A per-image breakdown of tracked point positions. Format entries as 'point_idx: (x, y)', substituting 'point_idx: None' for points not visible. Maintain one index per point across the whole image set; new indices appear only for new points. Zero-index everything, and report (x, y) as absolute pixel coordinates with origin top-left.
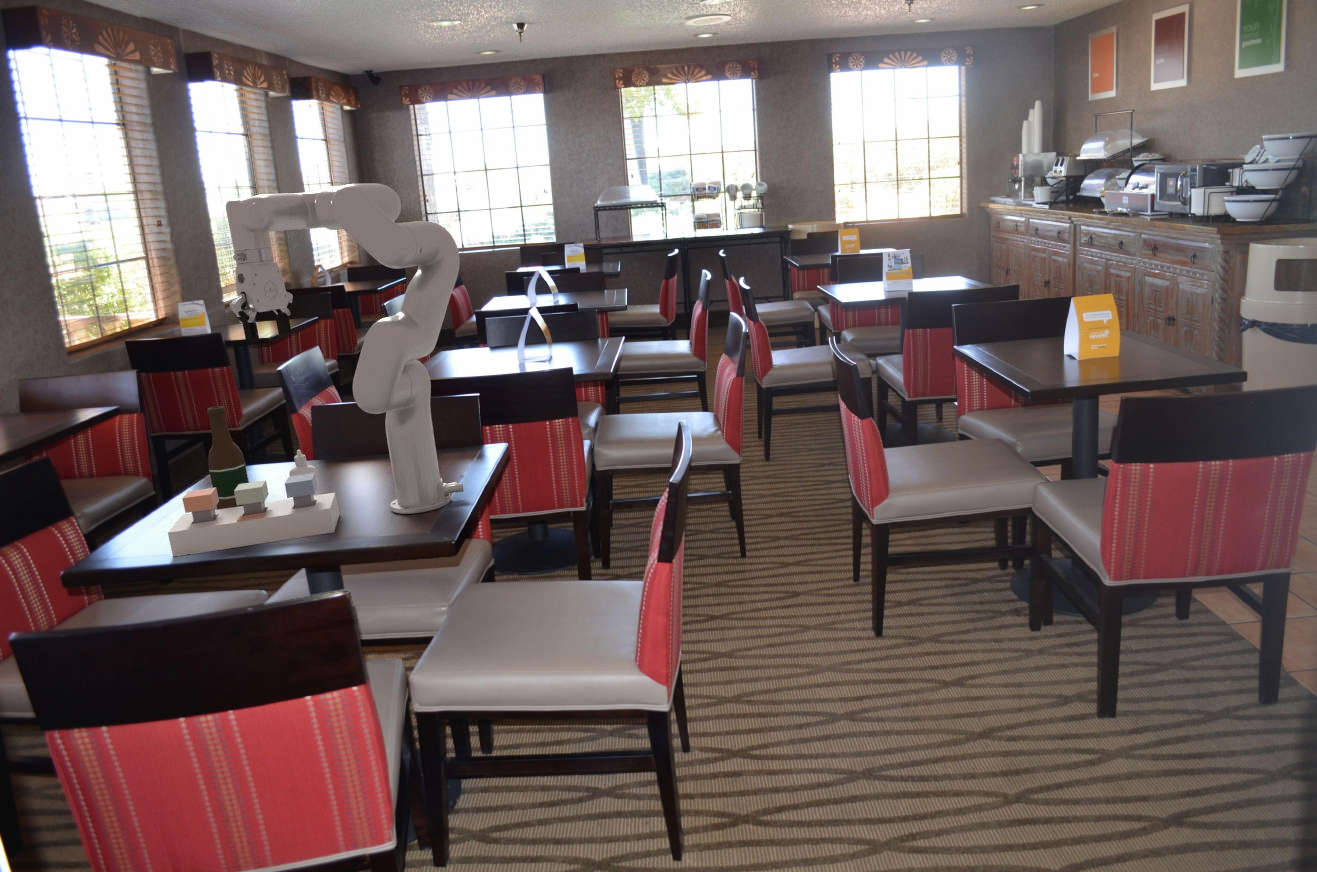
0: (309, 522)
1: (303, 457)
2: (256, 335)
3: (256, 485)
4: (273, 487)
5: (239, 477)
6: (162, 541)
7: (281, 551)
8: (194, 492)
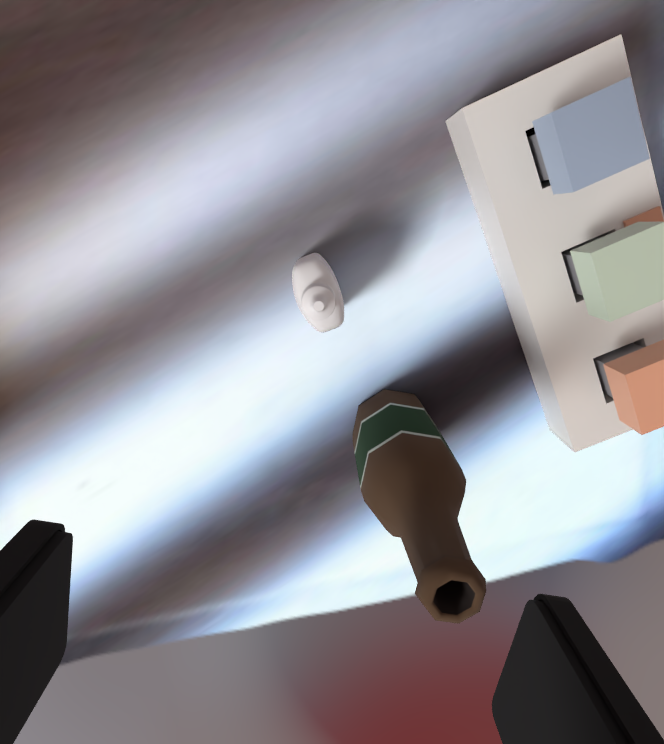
0: None
1: (324, 286)
2: (590, 637)
3: (642, 250)
4: (189, 456)
5: (424, 424)
6: (560, 472)
7: None
8: (660, 408)
